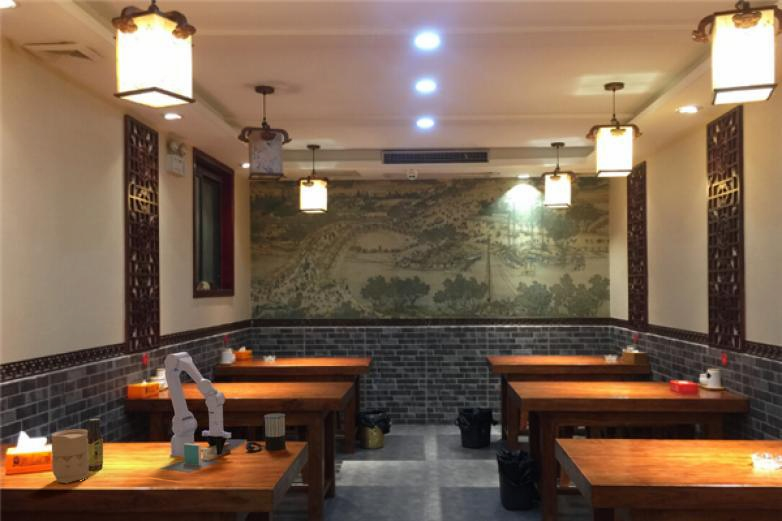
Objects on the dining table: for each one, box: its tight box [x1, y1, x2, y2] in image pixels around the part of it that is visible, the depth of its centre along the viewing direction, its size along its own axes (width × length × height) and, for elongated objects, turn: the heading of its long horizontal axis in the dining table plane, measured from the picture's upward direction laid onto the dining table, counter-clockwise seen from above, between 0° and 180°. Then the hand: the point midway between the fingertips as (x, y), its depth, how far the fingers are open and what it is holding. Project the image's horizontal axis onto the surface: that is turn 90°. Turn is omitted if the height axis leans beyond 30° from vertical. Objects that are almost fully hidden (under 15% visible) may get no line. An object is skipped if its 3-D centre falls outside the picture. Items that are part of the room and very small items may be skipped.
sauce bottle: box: [87, 418, 104, 471], centre depth 282 cm, size 7×6×20 cm
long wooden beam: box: [202, 443, 232, 460], centre depth 293 cm, size 14×2×4 cm, turn 151°
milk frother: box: [245, 412, 287, 453], centre depth 303 cm, size 14×16×15 cm
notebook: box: [201, 438, 248, 452], centre depth 312 cm, size 13×2×21 cm
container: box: [51, 428, 89, 484], centre depth 267 cm, size 13×13×18 cm
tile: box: [183, 443, 202, 465], centre depth 281 cm, size 2×8×8 cm, turn 62°
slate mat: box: [159, 458, 222, 473], centre depth 280 cm, size 16×18×1 cm
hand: (216, 454), depth 293 cm, fingers closed on long wooden beam, 2 cm apart
